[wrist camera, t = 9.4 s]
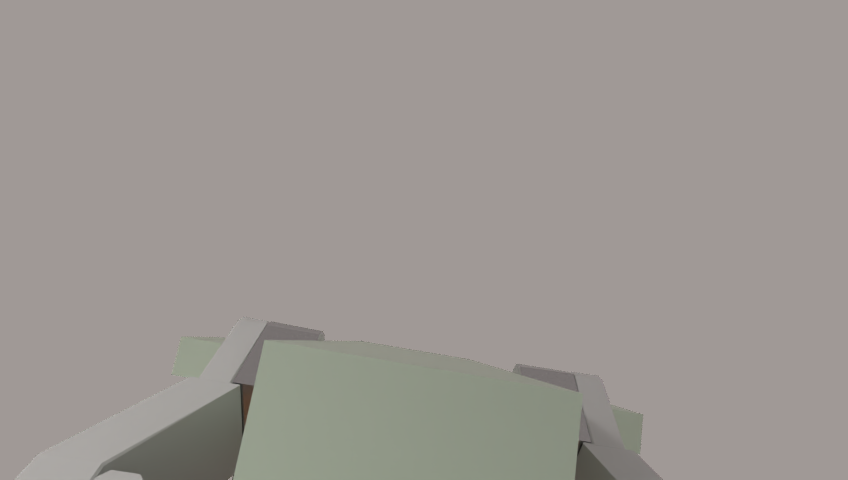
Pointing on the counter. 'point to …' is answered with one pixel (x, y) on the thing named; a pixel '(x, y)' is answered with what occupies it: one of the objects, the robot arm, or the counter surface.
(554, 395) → the lid
